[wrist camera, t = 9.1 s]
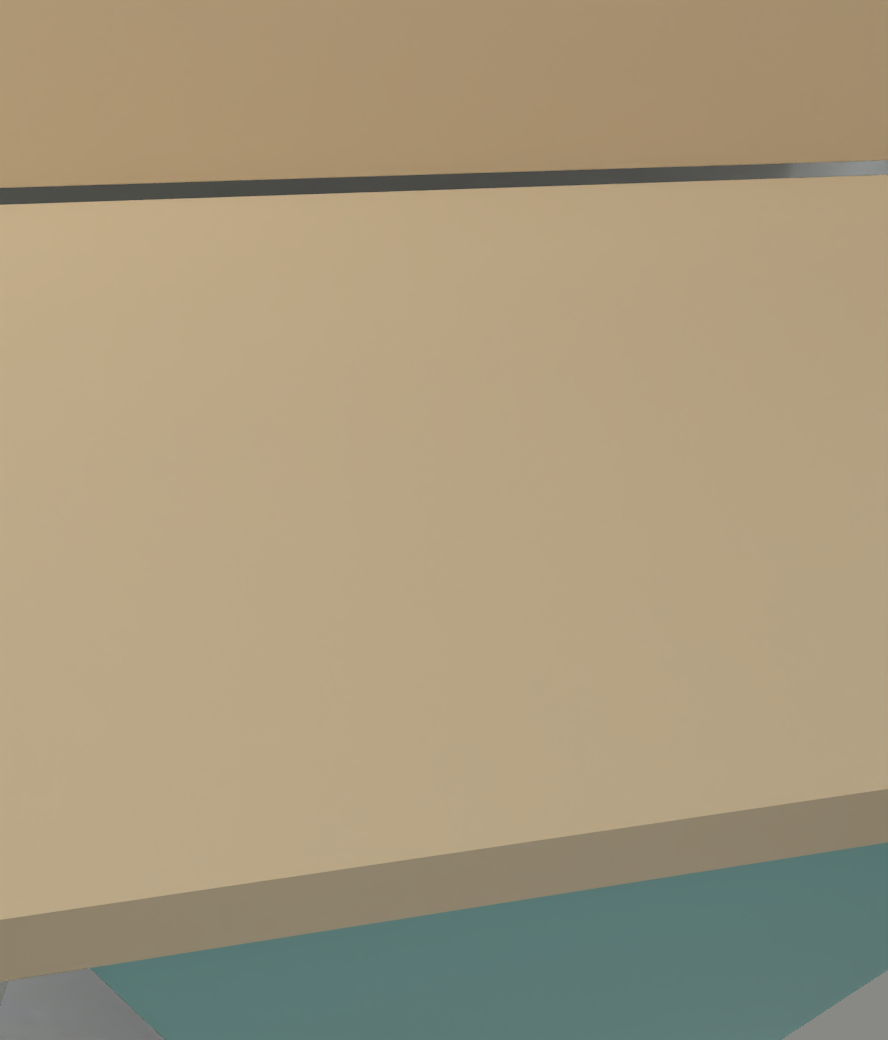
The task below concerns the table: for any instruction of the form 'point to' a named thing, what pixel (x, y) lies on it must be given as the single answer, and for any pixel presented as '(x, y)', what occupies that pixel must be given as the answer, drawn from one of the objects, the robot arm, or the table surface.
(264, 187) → the table surface
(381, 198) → the flap
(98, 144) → the carton
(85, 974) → the table surface
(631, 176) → the table surface
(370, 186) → the table surface
